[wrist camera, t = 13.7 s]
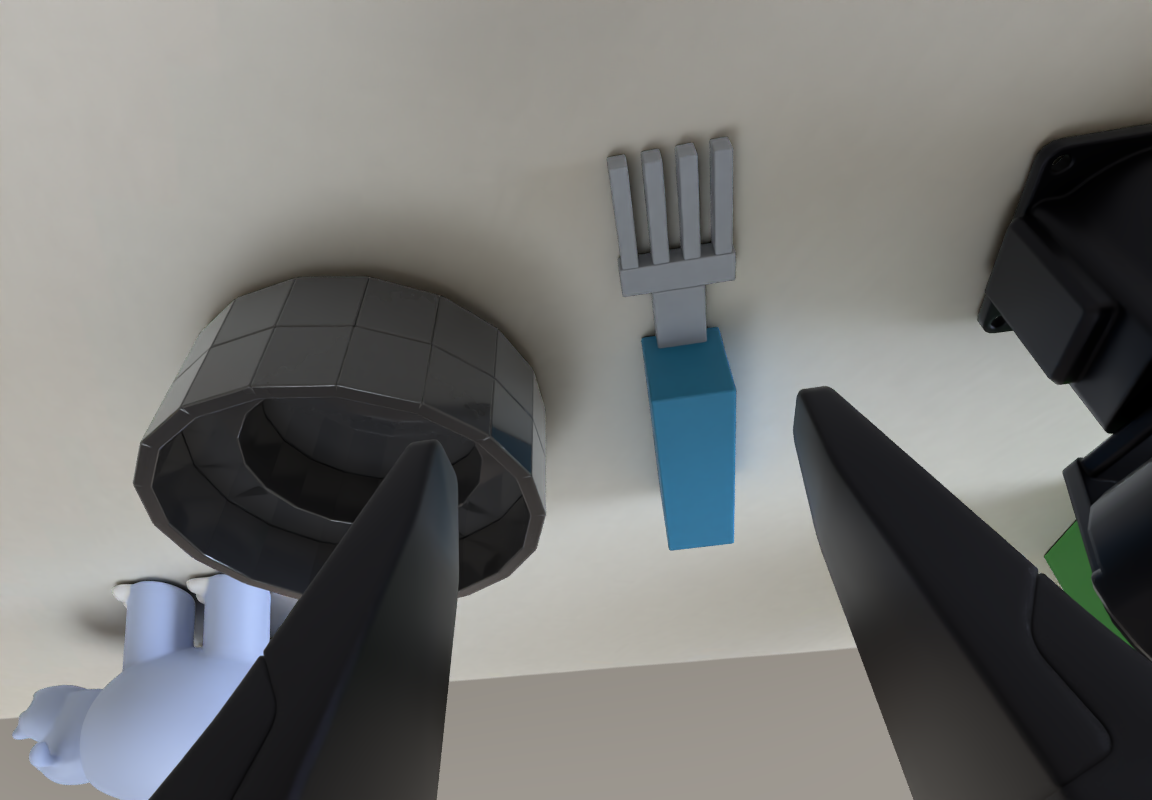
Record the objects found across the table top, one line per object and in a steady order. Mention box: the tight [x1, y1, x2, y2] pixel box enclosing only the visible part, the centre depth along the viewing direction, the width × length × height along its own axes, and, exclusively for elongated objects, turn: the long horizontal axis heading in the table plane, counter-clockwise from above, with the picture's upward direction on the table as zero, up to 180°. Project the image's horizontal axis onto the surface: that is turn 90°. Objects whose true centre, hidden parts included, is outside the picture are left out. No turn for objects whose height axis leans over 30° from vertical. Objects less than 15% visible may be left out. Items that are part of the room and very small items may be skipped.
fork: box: [607, 137, 736, 550], centre depth 22 cm, size 16×3×3 cm, turn 10°
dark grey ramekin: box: [133, 276, 546, 599], centre depth 22 cm, size 12×12×5 cm
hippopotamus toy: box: [12, 574, 271, 800], centre depth 33 cm, size 11×15×10 cm
